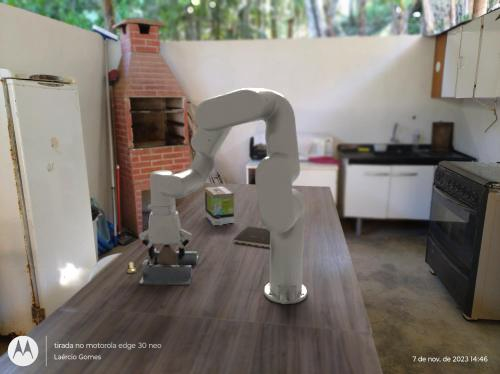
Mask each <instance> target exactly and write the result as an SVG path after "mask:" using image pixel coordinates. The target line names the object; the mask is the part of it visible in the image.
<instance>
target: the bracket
mask: <svg viewBox="0 0 500 374" xmlns="http://www.w3.org/2000/svg"><path fill="white" fill-rule="evenodd" d="M154 250H155V256H154V258H153V259H152V260H150V259H144V260H143V262H142V263H141V269H142V270H141V271H142V278H141V279H140V281H139V282H138V283H139V284H138V285H143V286H144V285H145V286H147V285H148V286H149V285H152V286H153V285H154V286H156V285H157V286H160V285H161V286H164V285H165V286H169V285H170V286H171V285H172V286H185V285H186V286H189V285H190V283H191V281H192V278H193V270H192V265H191V264H193V265H194V264H195V265H197V264H198V260H199V258H200V256H199V255H198V251H196V250H195V251H194V250H192V251H191V250H189V251H188V250H187V251H185V255H184V256H183V258H182V260H180V259H179V250H177V251H176V250H175V252H176V253H177V256H178V265H158V264H157V257H158V254H159V252H160V251H161V250H158V249H157V248H154Z"/></svg>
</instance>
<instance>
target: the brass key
mask: <svg viewBox="0 0 500 374" xmlns="http://www.w3.org/2000/svg"><path fill="white" fill-rule="evenodd" d="M128 265H129V268H128V269H127V273H128V274H135V273H136V272H137V268H136V267H134V262H133V261H132V262H131V261H130V262H129V264H128Z"/></svg>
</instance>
